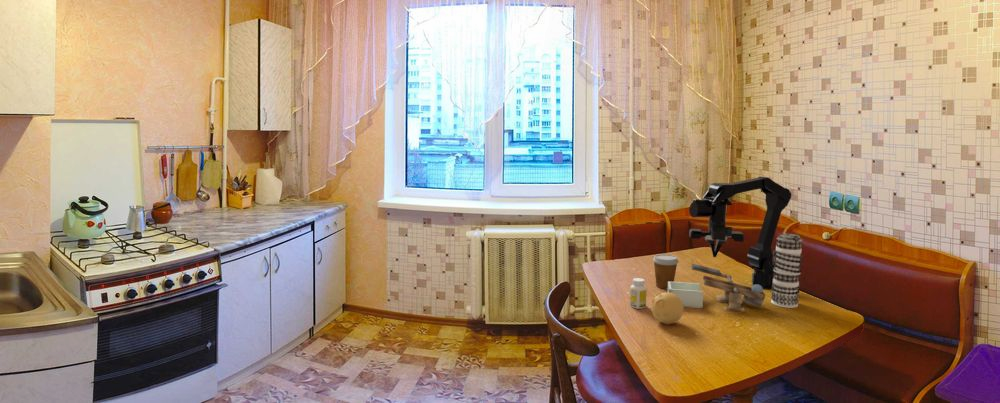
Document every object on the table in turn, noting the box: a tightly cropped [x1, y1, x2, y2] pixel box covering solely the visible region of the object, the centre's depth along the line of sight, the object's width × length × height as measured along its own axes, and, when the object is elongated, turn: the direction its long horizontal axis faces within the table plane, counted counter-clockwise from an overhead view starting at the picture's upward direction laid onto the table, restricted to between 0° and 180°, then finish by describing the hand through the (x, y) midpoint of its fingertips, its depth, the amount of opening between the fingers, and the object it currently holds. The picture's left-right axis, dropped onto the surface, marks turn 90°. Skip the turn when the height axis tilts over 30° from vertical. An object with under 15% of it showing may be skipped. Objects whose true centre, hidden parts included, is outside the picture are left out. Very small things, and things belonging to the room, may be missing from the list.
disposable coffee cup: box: [652, 253, 679, 290], centre depth 197 cm, size 10×10×12 cm
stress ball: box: [650, 291, 685, 325], centre depth 161 cm, size 10×10×10 cm
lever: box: [691, 263, 766, 307], centre depth 180 cm, size 23×19×5 cm
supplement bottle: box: [629, 277, 647, 310], centre depth 176 cm, size 5×5×10 cm
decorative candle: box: [770, 232, 804, 309], centre depth 176 cm, size 9×9×25 cm
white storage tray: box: [666, 281, 704, 309], centre depth 180 cm, size 11×9×6 cm
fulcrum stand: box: [716, 290, 745, 312], centre depth 177 cm, size 8×13×6 cm, turn 165°
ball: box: [751, 284, 764, 293], centre depth 173 cm, size 4×4×4 cm
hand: (714, 257), depth 191 cm, fingers closed
